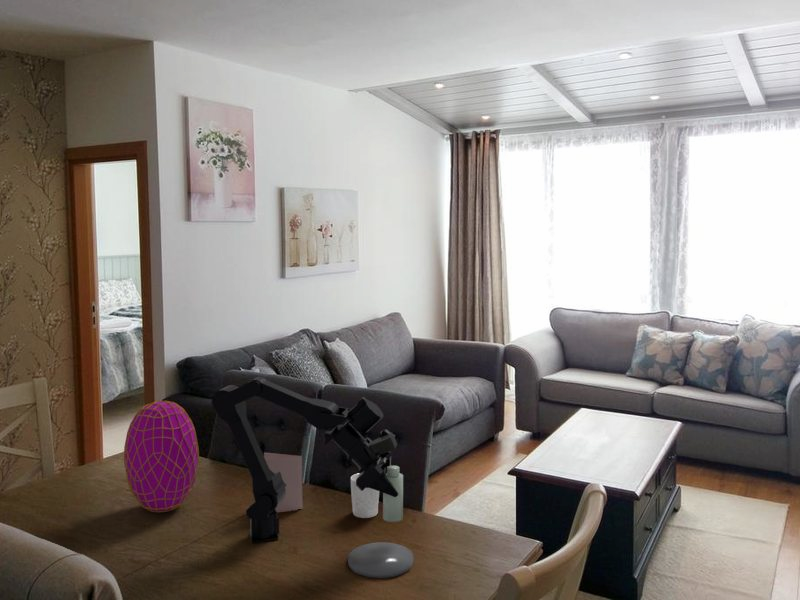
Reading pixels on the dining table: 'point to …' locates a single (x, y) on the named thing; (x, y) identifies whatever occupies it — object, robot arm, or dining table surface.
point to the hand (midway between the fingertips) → (398, 491)
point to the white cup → (363, 500)
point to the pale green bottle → (390, 503)
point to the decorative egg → (161, 456)
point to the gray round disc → (380, 560)
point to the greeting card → (288, 479)
